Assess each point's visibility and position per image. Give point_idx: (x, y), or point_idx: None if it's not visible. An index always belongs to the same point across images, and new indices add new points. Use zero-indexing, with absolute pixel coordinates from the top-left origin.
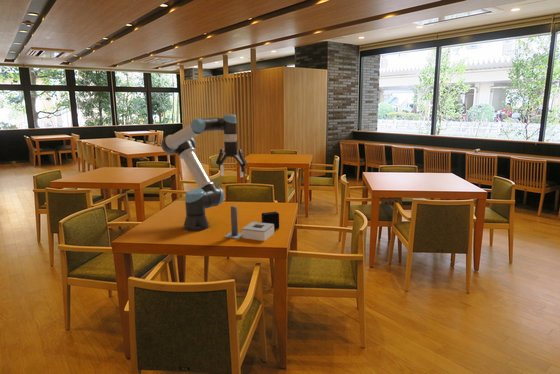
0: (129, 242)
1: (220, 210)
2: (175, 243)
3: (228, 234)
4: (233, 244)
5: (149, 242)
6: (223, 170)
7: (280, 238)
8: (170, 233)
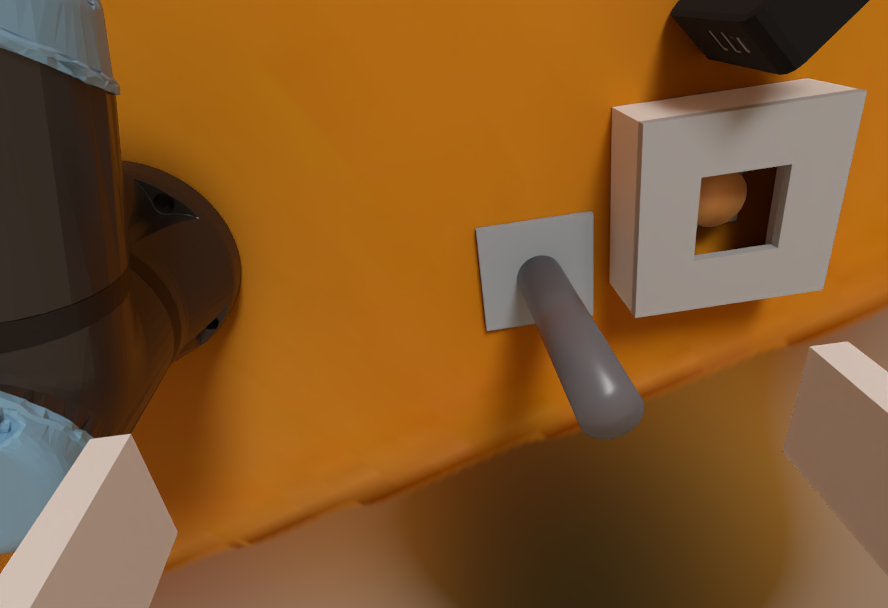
0: None
1: None
2: (299, 509)
3: (493, 289)
4: None
5: None
6: (49, 586)
7: (877, 162)
8: None
